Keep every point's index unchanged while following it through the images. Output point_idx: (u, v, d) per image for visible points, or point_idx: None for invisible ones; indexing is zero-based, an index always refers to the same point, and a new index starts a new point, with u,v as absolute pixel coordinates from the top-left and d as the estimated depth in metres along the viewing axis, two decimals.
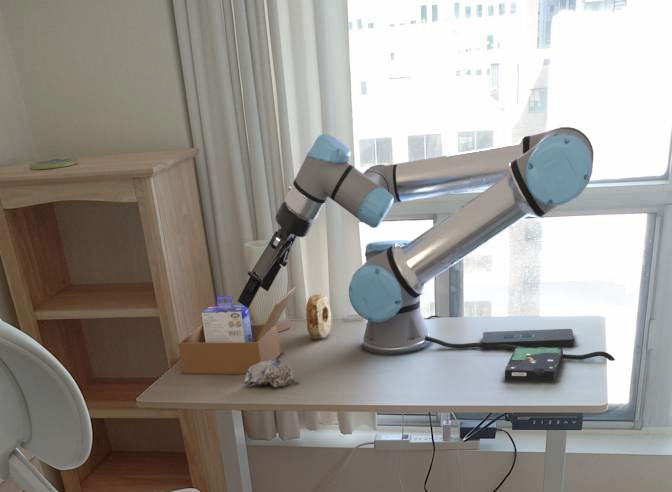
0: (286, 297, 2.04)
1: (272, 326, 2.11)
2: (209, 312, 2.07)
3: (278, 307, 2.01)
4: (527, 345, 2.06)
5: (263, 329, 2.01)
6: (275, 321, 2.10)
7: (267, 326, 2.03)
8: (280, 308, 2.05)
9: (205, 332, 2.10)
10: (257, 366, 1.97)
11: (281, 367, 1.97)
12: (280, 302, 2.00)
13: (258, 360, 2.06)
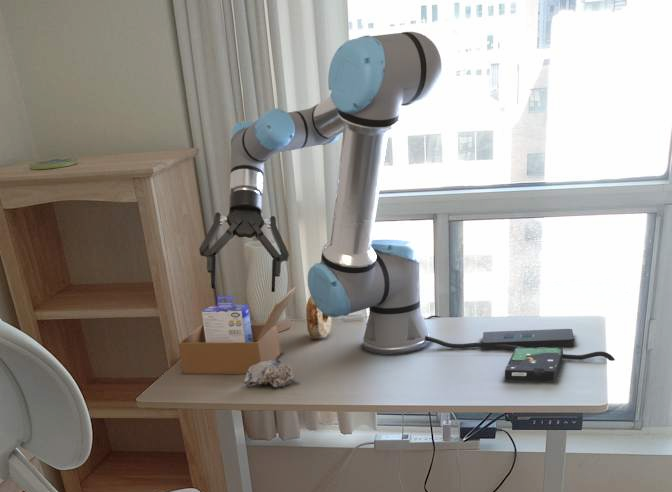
0: (286, 297, 2.04)
1: (272, 326, 2.11)
2: (209, 312, 2.07)
3: (278, 307, 2.01)
4: (527, 345, 2.06)
5: (263, 329, 2.01)
6: (275, 321, 2.10)
7: (267, 326, 2.03)
8: (280, 308, 2.05)
9: (206, 331, 2.10)
10: (257, 366, 1.97)
11: (281, 367, 1.97)
12: (280, 302, 2.00)
13: (258, 360, 2.06)
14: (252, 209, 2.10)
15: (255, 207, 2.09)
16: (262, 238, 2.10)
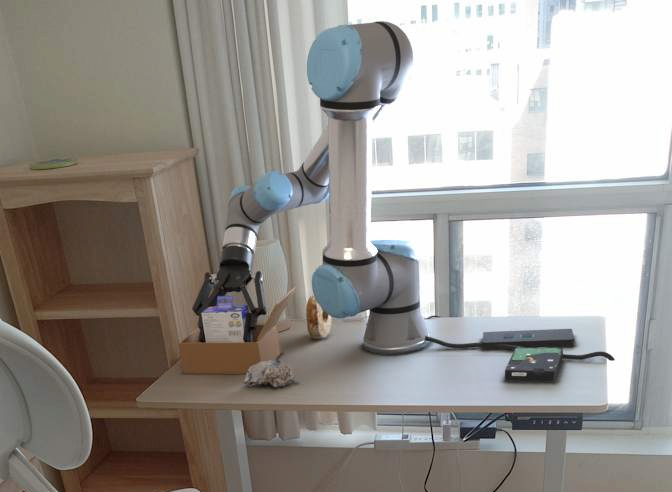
0: (286, 297, 2.04)
1: (272, 326, 2.11)
2: (209, 312, 2.07)
3: (278, 307, 2.01)
4: (527, 345, 2.06)
5: (263, 329, 2.01)
6: (275, 321, 2.10)
7: (267, 326, 2.03)
8: (280, 308, 2.05)
9: (206, 332, 2.10)
10: (257, 366, 1.97)
11: (281, 367, 1.97)
12: (280, 302, 2.00)
13: (258, 360, 2.06)
14: (239, 263, 2.11)
15: (241, 261, 2.10)
16: (243, 291, 2.10)
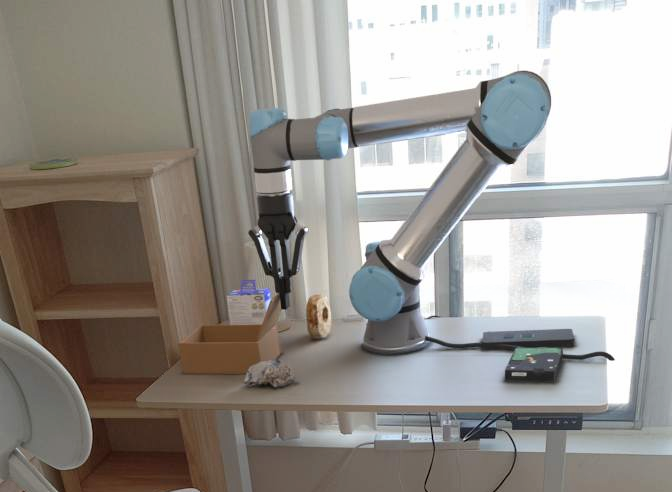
0: None
1: (272, 326, 2.11)
2: (234, 295, 2.20)
3: (274, 304, 2.01)
4: (527, 345, 2.06)
5: (261, 328, 2.01)
6: (274, 320, 2.10)
7: (265, 325, 2.03)
8: (277, 306, 2.05)
9: (230, 314, 2.23)
10: (257, 366, 1.97)
11: (281, 367, 1.97)
12: (275, 299, 2.00)
13: (258, 360, 2.06)
14: None
15: (282, 214, 1.91)
16: (282, 249, 1.97)
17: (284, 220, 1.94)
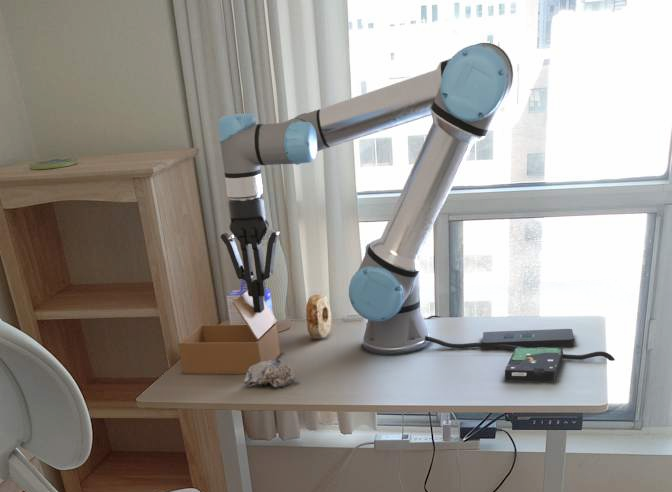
0: (245, 294, 2.06)
1: (271, 325, 2.11)
2: (234, 295, 2.20)
3: (243, 305, 2.03)
4: (527, 345, 2.06)
5: (250, 328, 2.02)
6: (269, 320, 2.11)
7: (253, 324, 2.04)
8: (253, 306, 2.07)
9: (230, 314, 2.23)
10: (257, 366, 1.97)
11: (281, 367, 1.97)
12: (237, 299, 2.02)
13: (258, 360, 2.06)
14: None
15: (253, 218, 1.93)
16: (254, 253, 1.99)
17: (255, 224, 1.95)
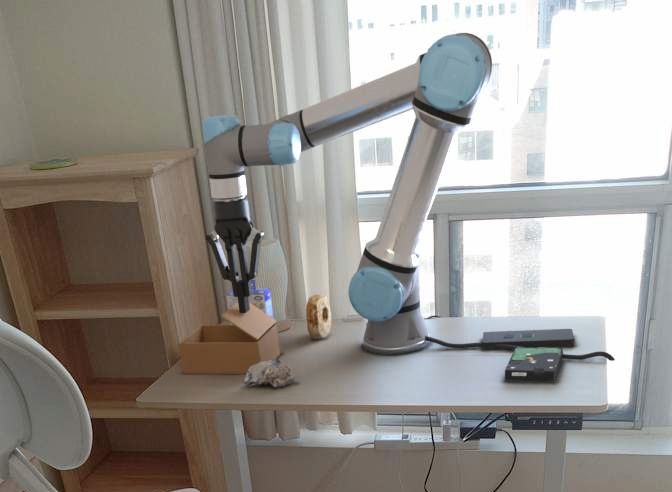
0: (234, 307, 2.08)
1: (270, 325, 2.11)
2: None
3: (233, 315, 2.05)
4: (527, 345, 2.06)
5: (246, 332, 2.03)
6: (266, 321, 2.11)
7: (249, 328, 2.04)
8: (245, 314, 2.08)
9: None
10: (257, 366, 1.97)
11: (281, 367, 1.97)
12: (226, 312, 2.04)
13: (258, 360, 2.06)
14: None
15: (238, 219, 1.94)
16: (239, 253, 2.00)
17: (240, 225, 1.96)
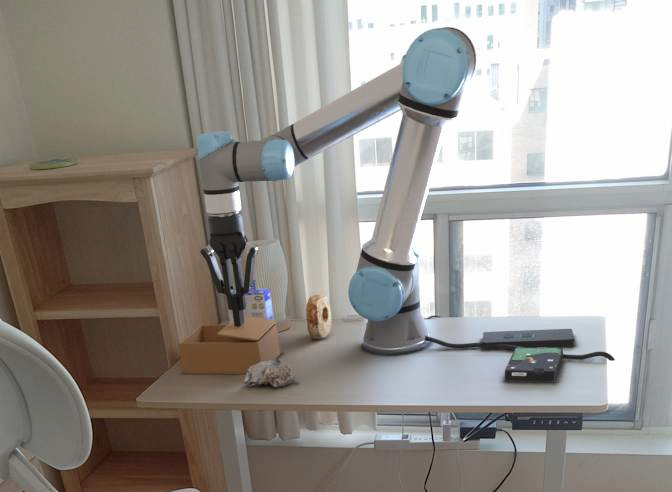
0: (230, 324, 2.10)
1: (270, 325, 2.11)
2: None
3: (230, 329, 2.07)
4: (527, 345, 2.06)
5: (245, 338, 2.04)
6: (265, 324, 2.11)
7: (248, 334, 2.05)
8: (242, 325, 2.10)
9: (230, 314, 2.23)
10: (257, 366, 1.97)
11: (281, 367, 1.97)
12: (221, 330, 2.06)
13: (258, 360, 2.06)
14: None
15: (232, 234, 1.96)
16: (234, 267, 2.02)
17: (234, 239, 1.98)
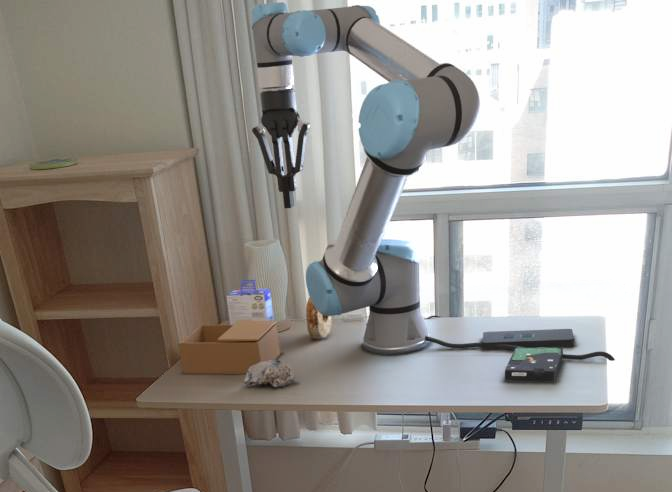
0: (230, 329, 2.11)
1: (270, 325, 2.11)
2: (234, 295, 2.20)
3: (230, 334, 2.08)
4: (527, 345, 2.06)
5: (245, 339, 2.04)
6: (265, 325, 2.12)
7: (248, 336, 2.05)
8: (242, 329, 2.10)
9: (230, 314, 2.23)
10: (257, 366, 1.97)
11: (281, 367, 1.97)
12: None
13: (258, 360, 2.06)
14: (283, 109, 1.98)
15: (285, 109, 1.97)
16: (285, 146, 2.02)
17: (287, 116, 1.99)
